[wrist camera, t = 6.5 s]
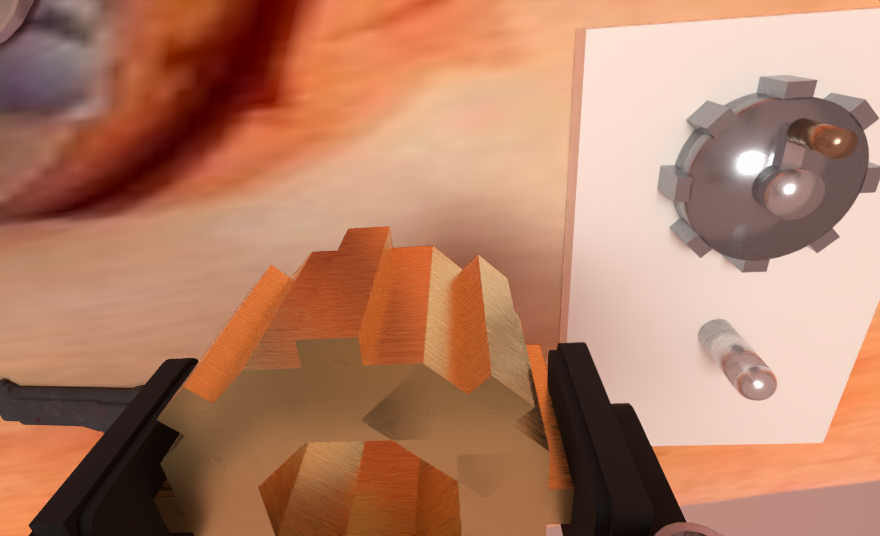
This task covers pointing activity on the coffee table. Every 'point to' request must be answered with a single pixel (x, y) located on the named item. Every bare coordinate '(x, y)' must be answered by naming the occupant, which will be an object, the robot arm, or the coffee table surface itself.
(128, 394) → the handgun
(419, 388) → the brass gear
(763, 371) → the steel peg
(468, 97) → the coffee table surface
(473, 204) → the coffee table surface
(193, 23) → the coffee table surface
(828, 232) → the drive gear
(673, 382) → the gear board
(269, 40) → the coffee table surface
